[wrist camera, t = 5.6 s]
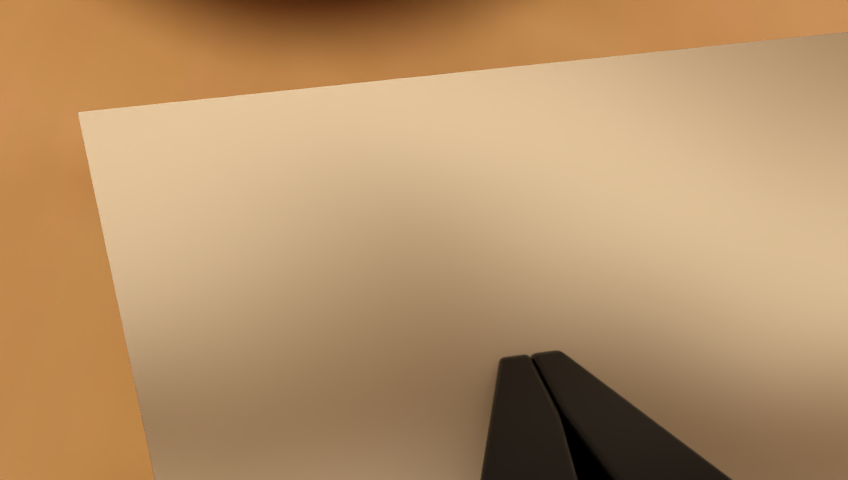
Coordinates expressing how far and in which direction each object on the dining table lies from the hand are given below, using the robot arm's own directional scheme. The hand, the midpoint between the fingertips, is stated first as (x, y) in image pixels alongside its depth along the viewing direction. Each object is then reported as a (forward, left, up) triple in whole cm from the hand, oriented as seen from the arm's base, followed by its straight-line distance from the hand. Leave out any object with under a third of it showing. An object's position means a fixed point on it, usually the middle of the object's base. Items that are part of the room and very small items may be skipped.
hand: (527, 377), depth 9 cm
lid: (0, 0, -1) cm, 1 cm away
